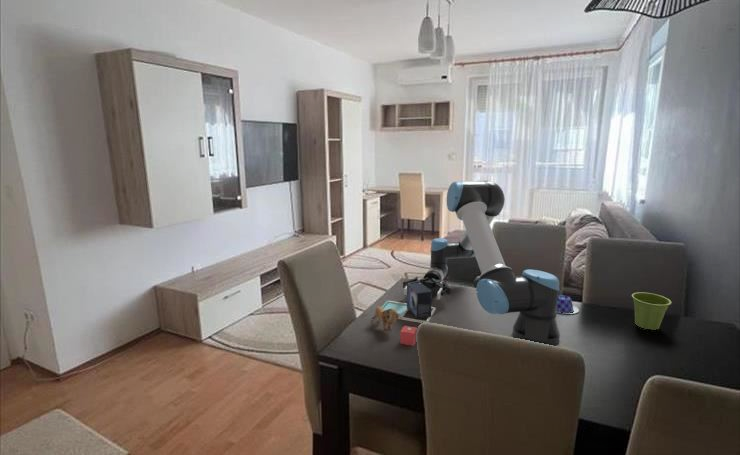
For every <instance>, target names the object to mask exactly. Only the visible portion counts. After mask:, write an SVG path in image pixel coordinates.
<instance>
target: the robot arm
mask: <svg viewBox="0 0 740 455" xmlns="http://www.w3.org/2000/svg"><path fill="white" fill-rule="evenodd" d="M505 199H506V198H505V194H504V191H503V189H502V188H501V187H500V186H499V185H498V184H497V183H496V182H494V181H491V180H467V181H466V180H464V181H463V180H460V181H453V182H452V183H451V184H450V185H449V186H448V189H447V193H446V208H447V209H448V211H449V212H452V213H455V215H456V217H457V219H458V220H460V221H462V222H463V226H464V228H465V231H464V233H463V235H462V237H461V238H460V240H459V241H457V242H455V241H454V242H448V240H447V239H446V238H442V237H441V238H439V237H438V238H437V237H436V238H433V239H432V240H431V244H430V262H429V263H430V266H429V267H430V268H429V269H428V271H427V272H426V273H425V275H423V277H422V278H421V279H420V278H419V277H418V276H415V277H414V278H411V279H408V280H405V281H403V282H402V288H403V292H404V293H403V295H404V296H407V284H412V283H420V282H421V283H422V284H423V285H424V286H426V287H427V288H428V289H434V290H437V293H436V300H439V301H440V299H441V297H443V296H445V295H446V294H447V295H450V294H451V287H450V286H449V284H447V280H443V279H444V278H445V277H446V276H447V274H448V270H449V267H448V260H451V259H470V258H475V260H476V262H477V266H478V268H479V270H480V273H481V274H480V275H479V277H478V282H477V284H476V287H475V288H476V289H475V290H476V298H477V301H478V302H479V305H480V306H481V307H482V309H483V310H484V311H485V312H487V313H489V314H493V315H504V314H510V313H519V314H518V316H517V318H516V320H515V322H514V324H513V327H512V335H513V337H514V338H515V339H516V338H520V339H525V340H530V341H534V342H539V343H544V344H549V345H554V346H556V345H558V344H559V342H560V336H561V335H560V334H561V333H560V330H559V324H558V321H557V312H558V311H557V302H558V295H559V294H560V293H559V291H560V280H559V278H558V277H557V276H556V275H554V274H552V273H549V272H546V271H542V270H538V269H525V270H523V271H522V273H521V275H519V276H516V275H515V273H514V271H513V269H512V267H509V266H507V265H506V264H505V261H504V258H503V256H502V253H501V251H500V248H499V245H498V243H497V240H496V237H495V236H494V232H493V230H492V228H491V223H492V221H493V219H494V218H495V217H498V216H499V215H500V213H501V212H502V211H503V208H504V206H505V201H506V200H505ZM556 311H557V312H556Z"/></svg>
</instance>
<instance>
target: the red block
mask: <svg viewBox="0 0 740 455" xmlns="http://www.w3.org/2000/svg"><path fill="white" fill-rule="evenodd" d="M416 332H417V333H418V327H414V326H408V325H404V326H402V328H401V330H400V344H401V345H406V346H410V345H411V346H412V347H413V346H414V345H416V343H417V341H416Z"/></svg>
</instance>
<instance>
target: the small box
mask: <svg viewBox="0 0 740 455" xmlns="http://www.w3.org/2000/svg"><path fill="white" fill-rule="evenodd" d="M432 295H433V294H432V290H431V289H430V288H428V287H426V286H424V285H423V284H422V283H421V282H420V283H412V284H407V294H406V303H407V309H408V311H409V312H410V313H411V314H412V315H413V316H414V317H415V318H416V319H423V318H424V319H426V318H428V317H431V312H432V310H431V307H432ZM431 318H432V317H431Z"/></svg>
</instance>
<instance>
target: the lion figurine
mask: <svg viewBox="0 0 740 455" xmlns="http://www.w3.org/2000/svg"><path fill="white" fill-rule="evenodd" d="M395 310H396V309H394V308H393V309H392V308H391V309H388V310H385V311H384V309H383V308H382V306H377V307H376V309H375V314H374V317H371V319H372V320H374V326H378V325H379V324H378V322H382V329H383V330H382V332H383V333H387V330H389V331H392V330H393V328H392V327H391V325H392V324H394V323H396V321H397V320H399V319H398V317H399V316H400V314H399V313H397V312H396V311H395ZM378 315H379V316H378Z"/></svg>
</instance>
